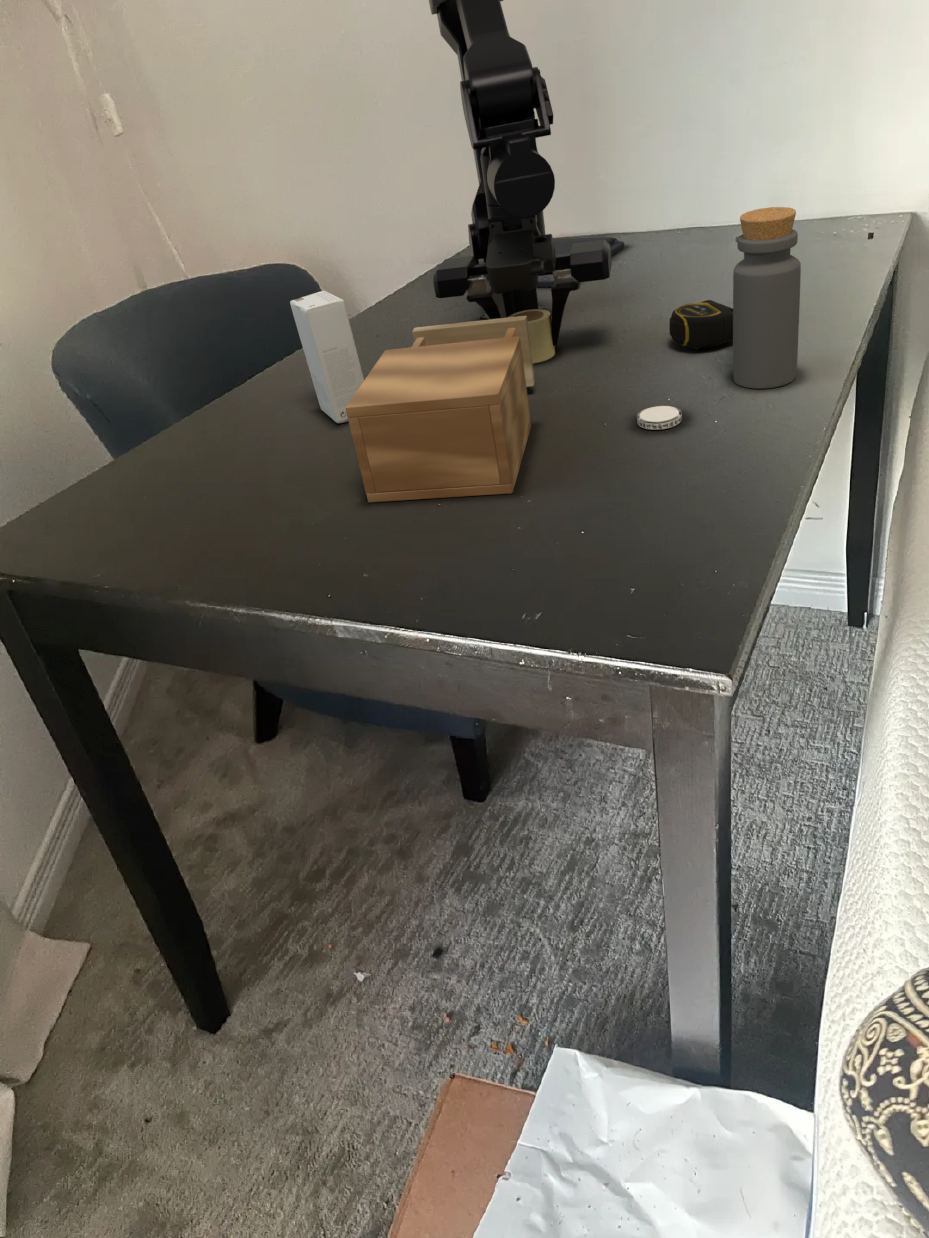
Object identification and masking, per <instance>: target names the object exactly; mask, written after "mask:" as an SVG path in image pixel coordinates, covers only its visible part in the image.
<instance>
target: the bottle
mask: <svg viewBox="0 0 929 1238" xmlns="http://www.w3.org/2000/svg"><path fill="white" fill-rule="evenodd" d="M796 214H797V210H796V209H794V208H793V207H786V206H771V207H763V208H762V207H761V208H757V209H753V210H748V211H746V212H744V213H742V214H741V215H740V217H739V222H740V227H741V230H742V231H741V232H742V234H741V235H739V236H738V237H737V244H736V245H737V246H736V247H737V250H738V251H739V252H742V253H743V259H742V260H740V261H739V262H737V263H736V265H735V266H734V268H733V273H732V291H733V292H732V309H733V339H732V374H733V375H732V376H733V377H732V378H733V381H734V383H735V384H736V385H738V386H740V387H743V388H747V389H748V388H749V389H755V390H757V389H758V390H760V389H772V388H773V389H774V388H778V387H782V386H785V385H788V384H790V383H792V382H793V381H795V379H796V378H797V374H798V373H797V370H798V355H799V354H798V353H799V331H800V330H799V329H800V328H799V327H800V307H801V306H800V303H801V278H802V277H801V274H802V273H801V272H802V267H801V266H802V264H801V262H800V260H799V259H798V258H797V257H795V256H794V255H792V254H791V249H792V248H794V247H795V246H796V245H798V241H799V239H798V238H799V237H798V236H799V234H798V231H797V230H796V229H794V224H795V219H796Z"/></svg>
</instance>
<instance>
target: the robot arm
mask: <svg viewBox="0 0 929 1238" xmlns="http://www.w3.org/2000/svg"><path fill="white" fill-rule="evenodd" d="M501 2H504V0H428V5H429V9H430V13H431V15H432V16H433V15H436V17H437V22H438V28H439V34H440V37H442V39H443V40H444V41H445V42H446V43H447V44H448V46H449V47H450V48H451V49H452V52H454V53H455V55H456V56H457V60H458V61H457V62H458V68H459V72H460V73H459V74H460V78H461V80H460V81H459V89H460V97H461V98H460V99H461V105H462V110H463V116H464V120H465V124H466V128H467V133H468V137H469V141H470V146H471V149H472V150H473V151H472V152H473V155H474V163H475V168H476V174H477V175H476V176H477V181H478V188H477V190H476V193H475V196H474V199H473V202H472V206H471V213H470V216H471V223H468V224H467V230H468V244H469V245H468V246H469V254H470V255H468V256H461V257H460V256H459V257H453V258H445V259H444V260H443V261H442V262H441V264H440V265H439V267H438V268H437V269H436V270H435V273H434V274H433V279H432V280H433V281H432V282H433V290H434V294H435V298H437V299H447V298H448V299H449V298H455V297H463V296H464V295H465V294H466V292H467V296H465V299H466V301H467V302H468V303H476V304H477V305H478V306H479V307H480V308H481V309H482V310H483V311H484V313H483V314H480V315H479V321H481V320H490V319H500V318H507V317H509V316H510V315H512V314H514V313H517V312H521V311H525V310H533V309H542V310H547V311H549V309H548V307H545V306H540V305H539V301H538V300H539V299H538V291H537V287H536V286H537V284H538V276H543V275H552V274H553V278H555V279H554V282H553V285H552V287H550V288H551V289H550V292H551V293H550V294H551V319H552V341H553V346H554V347H557V346H558V343H559V337H560V332H561V327H562V322H563V318H564V313H565V307H566V304H567V301H568V298H569V295H570V292H574V291H578V290H580V287H581V284H582V283H587V282H596V281H603V280H607V279H609V278H610V276H611V271H612V266H613V264H612V256H611V248H610V244H609V243H607V242H606V241H605V240H597V241H589V242H581V243H573V246H572V249H571V252H570V253H569V254H561V255H556V252H555V246H554V241H553V239H554V237H553V234H552V233H547V234H546V226H545V216H544V210H545V209H546V208H547V207H548V206H549V204H550V202H551V201H552V198H553V196H554V193H555V189H556V188H555V187H556V179H555V173H554V171H553V168H552V166H551V165H550V163H549V162H548V161H547V160H546V158H545V157H543V156H542V155H541V154H540V153H539V151H538V147H537V139H539V138H543V137H548V136H551V135H552V130H551V129H552V128H551V125H554V111H553V107H552V104H551V103H552V102H551V99H550V95H549V90H548V85H547V81H546V79H545V77H543V76H542V75H541V70H540V69H539V67H538V66H533V64H532V60H531V57H530V54H529V51H528V49H527V46H526V45H525V44H524V43H522V42H520V41H519V40H516V39H515V38H514V37H512V36H511V35H510V32H509V29H508V25H507V21H506V18H505V15H504V10H503V6H502V4H501ZM535 111H536V113H535ZM536 116H537V118H536ZM479 260H482V261H479Z"/></svg>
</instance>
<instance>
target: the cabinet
mask: <svg viewBox="0 0 929 1238" xmlns="http://www.w3.org/2000/svg"><path fill="white" fill-rule="evenodd" d="M527 388H528V387H526V380H525V372H524V364H523V357H522V349H521V340H520V336H517V337H507V338H498V339H488V340H478V341H469V342H459V343H449V344H439V345H430V346H420V347H412V346H410V347H402V348H393V349H385V350H384V351H383V353H382V354H381V355H380V357H379V358H378V360H377V361H376V363H375V364H374V365H373V367H372V369H371V370H370V372H368V375H366V377H365V378H364V382H363V383H362V384H361V386H360V387H359V389H358V390H357V392H356V393H355V394H354V396H353V397H352V399H351V400H350V402H349V403H348V404H347V406H346V407H345V409H346V413H347V417H348V425H349V430H350V434H351V437H352V442H353V447H354V450H355V455H356V458H357V459H356V460H357V463H358V466H359V470H360V474H361V475H360V476H361V479H362V483H363V487H364V493H365V495H366V499H367V503H369V504H370V503H383V502H384V503H385V502H399V501H400V502H401V501H402V502H403V501H415V500H429V499H430V500H431V499H433V500H434V499H446V498H462V497H478V496H492V495H493V496H495V495H510V494H513V493H514V489H515V486H516V482H517V479H518V475H519V471H520V468H521V464H522V461H523V457H524V453H525V451H526V446H527V443H528V439H529V436H530V433H531V429H532V420H531V411H530V404H529V397H528V389H527Z"/></svg>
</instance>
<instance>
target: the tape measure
mask: <svg viewBox="0 0 929 1238" xmlns="http://www.w3.org/2000/svg"><path fill="white" fill-rule="evenodd" d="M668 327H669V328H668V329H669V335H670V337H671V340H672V341H673V342H674V343H675V344H676V345H678V346H682V347H686V348H692V349H695V350H699V349H700V348H710V347H717V346H719V345H722V344H724V343H727V342H729V341H732V340H733V307H730V306H728V305H725V304H722V303H719V302H716V301H714V300H711V299H707V300H704V301H701V302H694V303H693V302H692V303H687V304H683V305H681V306H678V307H676V308H675V309H674V310H672V313H671V316H670V318H669V326H668Z"/></svg>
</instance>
